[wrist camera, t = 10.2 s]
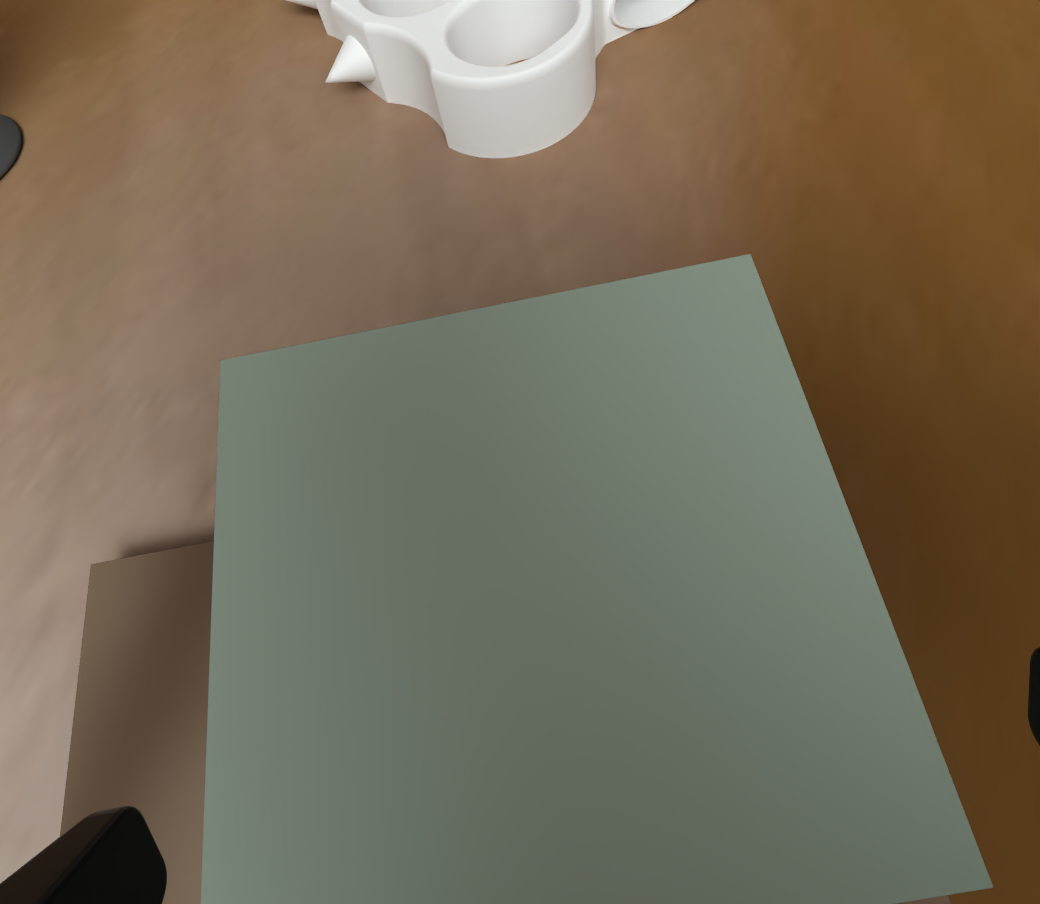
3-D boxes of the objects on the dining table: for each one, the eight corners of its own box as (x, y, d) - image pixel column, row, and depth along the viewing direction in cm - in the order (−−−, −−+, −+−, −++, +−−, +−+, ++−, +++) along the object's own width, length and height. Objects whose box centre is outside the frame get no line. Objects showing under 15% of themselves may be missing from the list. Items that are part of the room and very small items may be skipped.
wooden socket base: (764, 450, 19) (806, 359, 15) (954, 1004, 14) (1097, 1096, 10) (114, 574, 20) (-15, 519, 16) (59, 1145, 14) (-158, 1286, 10)
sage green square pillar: (656, 617, 16) (750, 254, 5) (702, 809, 15) (994, 888, 3) (486, 648, 17) (220, 360, 5) (511, 842, 15) (195, 1017, 4)
